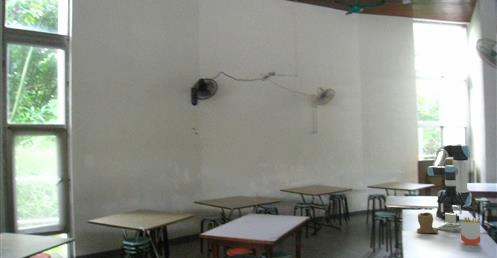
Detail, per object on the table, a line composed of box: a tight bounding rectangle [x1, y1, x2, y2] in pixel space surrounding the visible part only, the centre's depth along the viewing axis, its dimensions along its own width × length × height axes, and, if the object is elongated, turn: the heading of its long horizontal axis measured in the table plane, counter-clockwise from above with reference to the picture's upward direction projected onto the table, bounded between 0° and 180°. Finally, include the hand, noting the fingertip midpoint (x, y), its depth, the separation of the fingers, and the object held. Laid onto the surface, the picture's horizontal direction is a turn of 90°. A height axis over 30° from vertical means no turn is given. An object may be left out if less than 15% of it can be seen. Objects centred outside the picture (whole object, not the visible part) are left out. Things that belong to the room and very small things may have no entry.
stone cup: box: [416, 211, 439, 234], centre depth 309 cm, size 15×12×15 cm
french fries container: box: [460, 216, 481, 246], centre depth 277 cm, size 5×11×18 cm, turn 70°
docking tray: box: [437, 222, 461, 234], centre depth 320 cm, size 17×16×2 cm
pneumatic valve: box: [441, 212, 460, 228], centre depth 320 cm, size 6×12×12 cm, turn 60°
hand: (451, 212), depth 320 cm, fingers open, 13 cm apart
